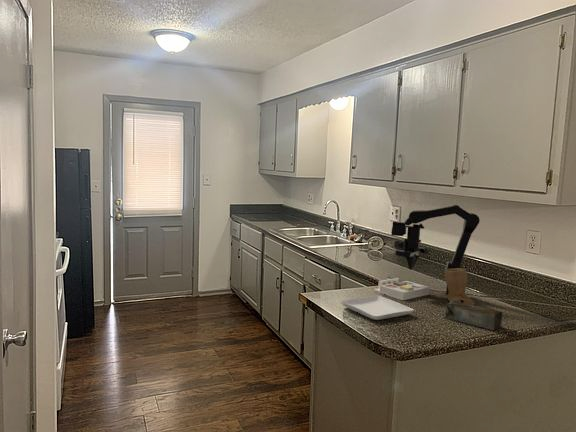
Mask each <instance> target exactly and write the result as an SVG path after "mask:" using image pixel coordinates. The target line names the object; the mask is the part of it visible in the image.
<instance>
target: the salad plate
mask: <svg viewBox="0 0 576 432" xmlns="http://www.w3.org/2000/svg"><path fill="white" fill-rule="evenodd" d="M340 303H341V305H342V306H344V307H345V308H347V309H349V310H351V311H353V312H355V313H357V312H358V313H357V314H359V313H360V315H361V316H364V317H366V318H369V319H371V320H375V321H379V320H380V321H381V320H385V319H392V318H396V317H397V318H398V317H401V316H402V317H403V316H406V315H409V314H412V313H413V312H414V311H415V309H414V308H412V307H409V306H407V305H404V304H402V303H399V302H397V301H395V300H392V299H389V298H386V297H384V296H381V295H379V294H377V295H369V296H362V297H356V298H349V299H343V300H340Z"/></svg>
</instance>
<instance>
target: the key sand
mask: <svg viewBox="0 0 576 432" xmlns="http://www.w3.org/2000/svg"><path fill="white" fill-rule="evenodd" d="M400 289H404V290H407V291H409V290H414V287H412V286H408V285H403V286H400Z"/></svg>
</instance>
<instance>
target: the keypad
mask: <svg viewBox="0 0 576 432" xmlns="http://www.w3.org/2000/svg"><path fill="white" fill-rule="evenodd" d="M399 280H400V279H399V277H395V278H389V279H384V280H378V285H377V287H378V288H374V289H373V292H374V291H377V292H376V293H378V292H379V294H381V293H382V294H381V295H384V294H386V295H385V296H387V295H388V297H391V298H393V299H397V300H401V301H406V300H410V299H415V298H420V297H423V296H428V295H430V291H431V287H430V286H427V285H423V284H419V283H417V282H412V281H409V280H406V281H403V282H404V283H408V284H412V285H408V286H412V287H416V288H419V289H414V290H409V291H407V290H404V289H400V286H396V285H393V282H398V281H399ZM388 286H393V287H396V288H390V287H388Z"/></svg>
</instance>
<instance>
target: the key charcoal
mask: <svg viewBox="0 0 576 432" xmlns="http://www.w3.org/2000/svg"><path fill="white" fill-rule="evenodd" d="M393 285H396V286H403V285H407V283H404V281H399V280H398V282H393Z"/></svg>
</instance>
